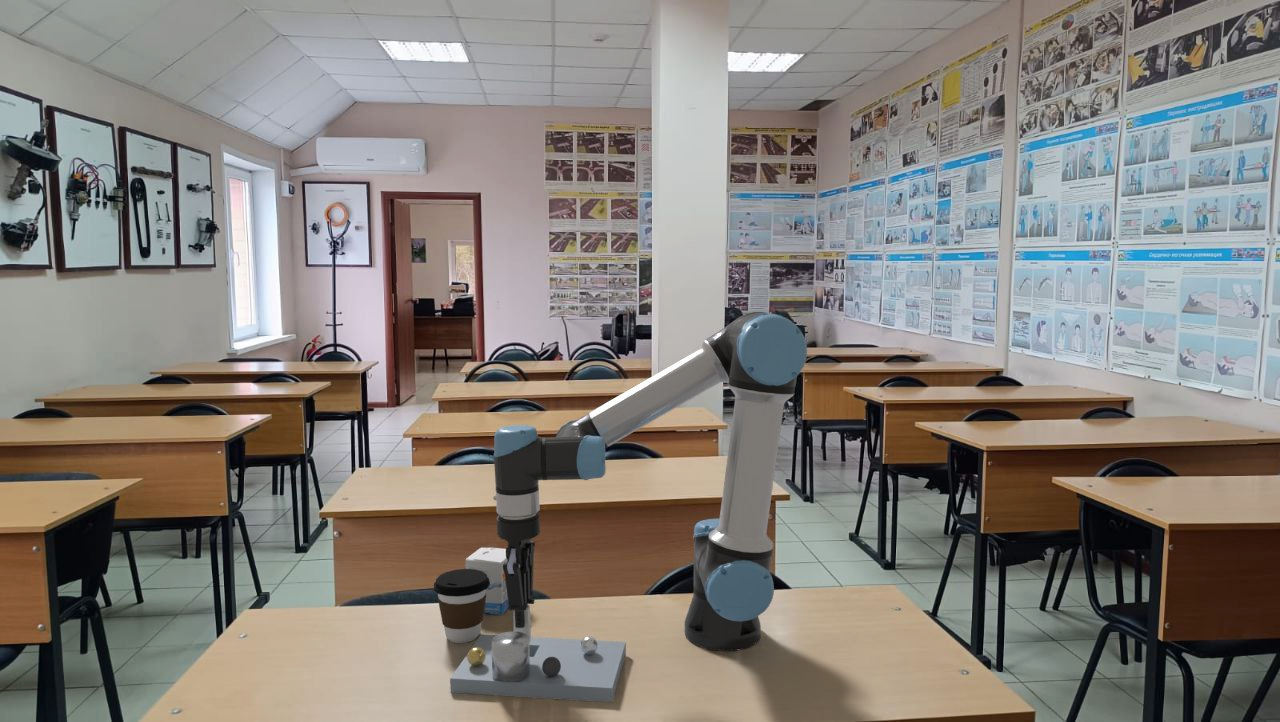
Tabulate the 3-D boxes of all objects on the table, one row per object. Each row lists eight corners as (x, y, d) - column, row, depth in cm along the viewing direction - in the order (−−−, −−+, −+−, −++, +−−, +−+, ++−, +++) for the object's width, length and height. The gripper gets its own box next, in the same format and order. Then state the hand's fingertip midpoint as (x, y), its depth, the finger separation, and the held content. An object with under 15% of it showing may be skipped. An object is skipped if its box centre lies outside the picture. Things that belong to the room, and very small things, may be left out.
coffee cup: (472, 652, 149) (471, 591, 148) (423, 644, 152) (421, 584, 151) (501, 628, 159) (500, 571, 158) (454, 621, 163) (452, 565, 161)
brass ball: (488, 661, 140) (487, 644, 140) (482, 670, 137) (482, 652, 137) (470, 660, 140) (470, 643, 140) (464, 669, 137) (464, 651, 137)
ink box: (502, 615, 165) (501, 562, 164) (464, 612, 167) (463, 559, 166) (517, 599, 174) (516, 548, 172) (481, 596, 175) (480, 545, 174)
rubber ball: (562, 671, 136) (562, 653, 136) (558, 680, 133) (558, 662, 133) (544, 670, 137) (544, 652, 136) (540, 679, 134) (540, 661, 133)
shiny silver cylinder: (533, 665, 138) (533, 632, 137) (524, 683, 132) (523, 649, 131) (498, 663, 139) (497, 630, 138) (487, 681, 132) (486, 647, 132)
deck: (625, 654, 148) (625, 642, 148) (612, 702, 131) (612, 688, 131) (481, 646, 151) (481, 634, 151) (450, 692, 134) (450, 678, 134)
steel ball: (599, 650, 144) (599, 633, 144) (596, 658, 141) (596, 641, 141) (582, 649, 145) (582, 632, 144) (578, 657, 141) (578, 640, 141)
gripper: (507, 502, 145) (512, 625, 148) (486, 524, 132) (491, 658, 135) (547, 503, 144) (551, 626, 147) (529, 525, 131) (534, 659, 134)
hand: (522, 641), depth 141 cm, fingers closed
